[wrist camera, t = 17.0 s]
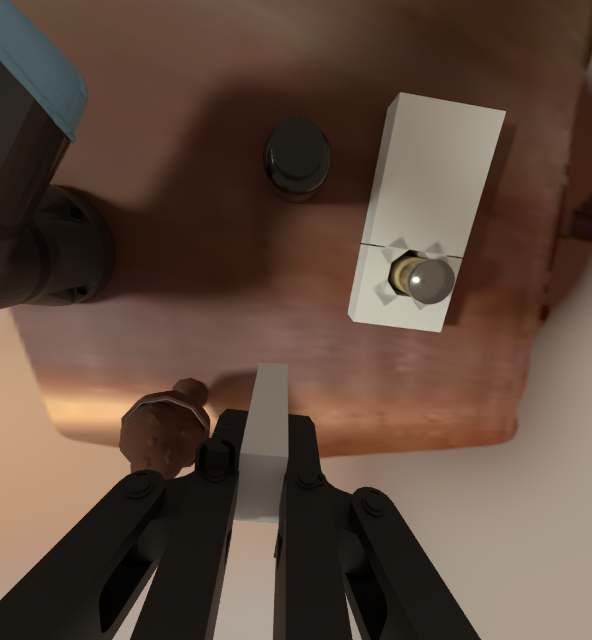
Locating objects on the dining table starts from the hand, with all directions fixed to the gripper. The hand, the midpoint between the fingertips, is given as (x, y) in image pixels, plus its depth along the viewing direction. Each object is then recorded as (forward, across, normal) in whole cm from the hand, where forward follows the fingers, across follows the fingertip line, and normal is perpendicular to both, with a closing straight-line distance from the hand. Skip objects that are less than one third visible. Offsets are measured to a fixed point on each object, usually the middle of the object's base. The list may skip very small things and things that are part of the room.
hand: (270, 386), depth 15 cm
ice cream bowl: (+27, -12, -18) cm, 34 cm away
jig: (+26, +16, +11) cm, 33 cm away
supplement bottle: (+27, 0, +15) cm, 31 cm away
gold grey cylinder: (+26, +16, +5) cm, 31 cm away
